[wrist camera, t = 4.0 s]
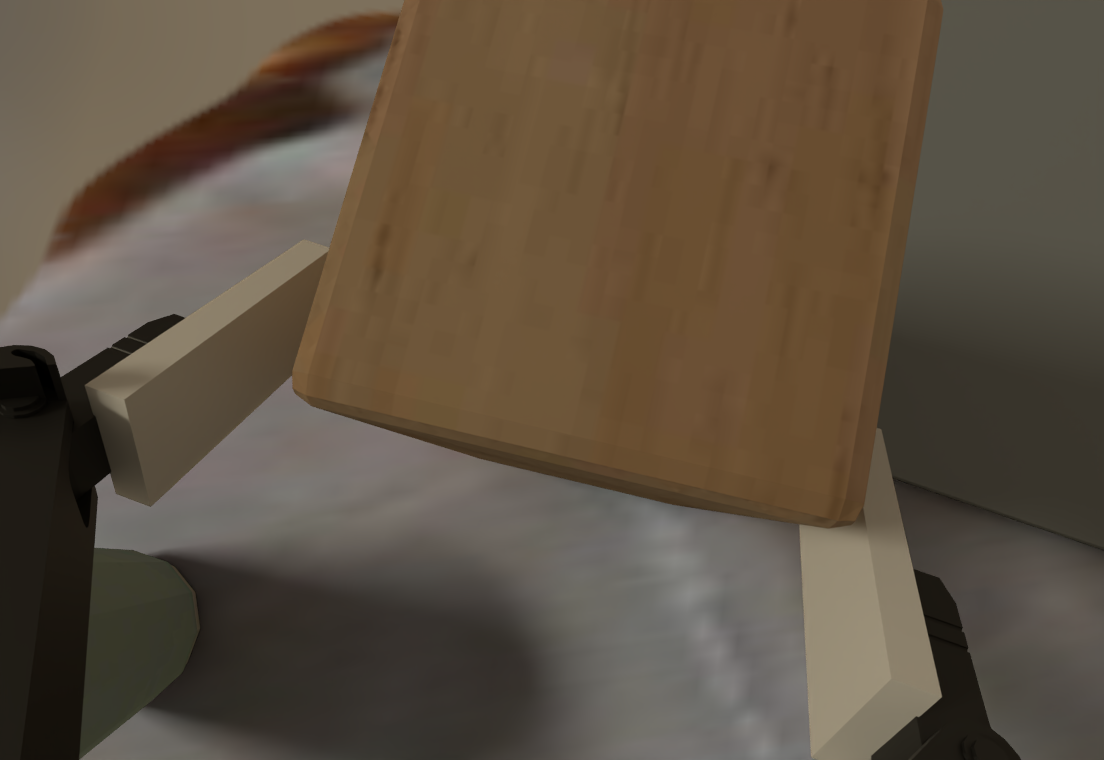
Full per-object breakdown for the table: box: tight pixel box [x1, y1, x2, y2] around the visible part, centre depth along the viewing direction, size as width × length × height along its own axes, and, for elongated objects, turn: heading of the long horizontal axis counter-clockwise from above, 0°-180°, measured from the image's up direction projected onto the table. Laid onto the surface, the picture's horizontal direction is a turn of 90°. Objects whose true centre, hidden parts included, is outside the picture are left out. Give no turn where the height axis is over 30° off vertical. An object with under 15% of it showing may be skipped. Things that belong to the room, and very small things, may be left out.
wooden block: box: [292, 0, 943, 529], centre depth 21 cm, size 10×10×20 cm
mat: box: [877, 0, 1104, 550], centre depth 31 cm, size 16×28×1 cm, turn 160°
